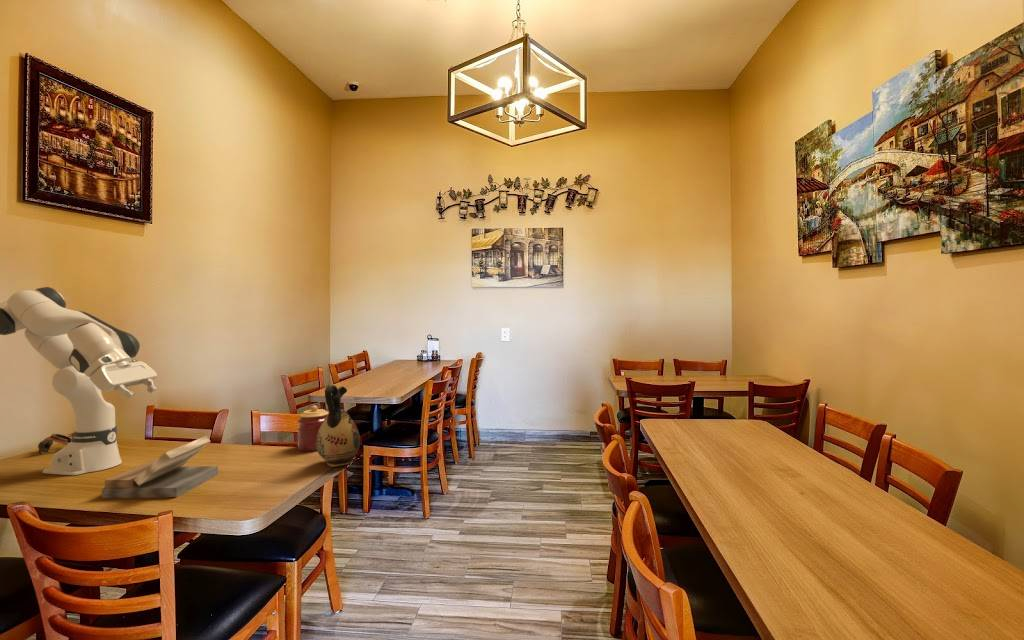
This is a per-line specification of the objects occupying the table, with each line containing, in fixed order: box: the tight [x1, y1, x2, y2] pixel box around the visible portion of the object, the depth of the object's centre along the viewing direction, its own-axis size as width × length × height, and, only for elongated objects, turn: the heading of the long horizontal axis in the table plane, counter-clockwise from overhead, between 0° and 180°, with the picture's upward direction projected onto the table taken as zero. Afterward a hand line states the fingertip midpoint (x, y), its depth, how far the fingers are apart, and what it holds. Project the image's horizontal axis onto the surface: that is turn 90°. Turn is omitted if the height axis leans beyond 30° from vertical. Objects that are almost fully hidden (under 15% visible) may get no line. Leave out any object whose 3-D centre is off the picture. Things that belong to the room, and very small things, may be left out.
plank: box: [134, 435, 211, 486], centre depth 152 cm, size 13×19×2 cm
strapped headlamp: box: [37, 433, 72, 455], centre depth 192 cm, size 12×10×8 cm
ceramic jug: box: [316, 384, 361, 468], centre depth 172 cm, size 17×15×30 cm
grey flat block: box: [101, 459, 219, 499], centre depth 152 cm, size 23×20×6 cm
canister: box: [297, 405, 329, 452], centre depth 194 cm, size 13×13×18 cm
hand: (143, 393), depth 152 cm, fingers open, 8 cm apart
